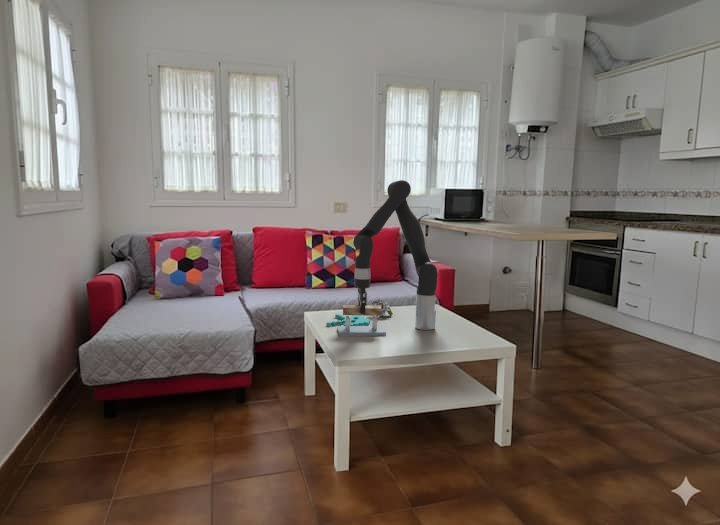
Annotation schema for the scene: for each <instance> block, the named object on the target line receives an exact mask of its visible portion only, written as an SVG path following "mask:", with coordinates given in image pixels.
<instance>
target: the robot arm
mask: <svg viewBox="0 0 720 525" xmlns="http://www.w3.org/2000/svg"><path fill="white" fill-rule="evenodd" d="M386 192H387V195H388V198H387V200H386V201H385V202H384V203H383V204H382V205H381V206H380V207H379V208H378V209H377V210H376V211H375V212H374V213H373V215H372V216H371V218H370V219H369V220H368V222H367V223H366V225H365V226H364V227H363V228H362V229H361V230H360V231H358V233H357V234H356V235H355V237H354V238H353V241H352V242H353V244H352V245H353V247H354V248H355V249H356V250H359V253H358V255H357V256H356V257H355V260H354V261H355V265H354V266H355V267H354V288H356V289H357V302H358V305H360V313H361V314H365V306H366V305H368V303H367V300H368V292H367V290H366V289H369V288H370V287H371V257H372V255H373V252H374V250H373V249H374V240H373V237H376V236H378V235H379V233H380V232H381V231H382V229H383V228H384V226H385V225H386V224H387V221H388V220H389V219H390V217H392V215H393V214H394V213H396V216H397V219H398V222H399V224H400V228H401V231H402V234H403V237H404V240H405V242H406V245H407V247H408V248H409V249H408V250H409V252H410V253H411V256H412V260H413V262H414V266H415V271H416V275H417V276H418V282H417V283H418V284H417V285H418V286H417V288H416V297H415V298H416V301H415V302H416V303H415V304H416V305H415V322H414V323H415V326H414V327H415V329H418V330H420V331H421V330H422V331H424V330H425V331H431V330H436V321H437V320H436V315H437V310H436V291H437V288H438V269H437V267H436V265H434V264H433V263H432V261H431V260H430V256H429V255H428V252H427V249H426V248H427V247H426V241H425V236H424V232H423V229H422V225H421V223H420V220H418V218H417V216H416V215H415V214H414V213H413V211H412V210H411V208H410V206H409V204H408V200H407V198H408V197H409V196H410V194H411V192H412V188H411V184H410V183H409V182H408V181H407V180H404V179H400V180H399V179H398V180H395V181H392V182H391V183H389V185H388V186H387V190H386Z"/></svg>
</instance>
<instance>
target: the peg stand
mask: <svg viewBox="0 0 720 525" xmlns="http://www.w3.org/2000/svg"><path fill="white" fill-rule="evenodd" d="M345 317H346V326H344V325H337V326H336V330H337V333H338V336H339V337H366V336H367V337H373V336H376V337H380V336H384V337H385V336H387V331H386V330H385V328H384V327H383V326H382V325H378V318H377V316H372V320H371V321H372V324H371V325H369V326H350V315H345Z"/></svg>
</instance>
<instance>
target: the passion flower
mask: <svg viewBox="0 0 720 525" xmlns="http://www.w3.org/2000/svg"><path fill="white" fill-rule="evenodd" d="M370 306H381V316H383V317H385V316H386V313H387V314H388V315H389V318H390V317H392V315H394V314H393V311H392V310H391V307H390V305H389V301H388V300H386V301H383V300H382V298H378V299H377V300H375V301H374V300H373V301H371V304H370ZM381 316H376V318H377V317H378V318H377V319H380V317H381Z"/></svg>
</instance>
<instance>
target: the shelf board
mask: <svg viewBox="0 0 720 525" xmlns="http://www.w3.org/2000/svg"><path fill="white" fill-rule="evenodd" d="M342 315H343V316H352V315H360V316H363V317H365V316H369V317H370V316H371V317H373V316H376V317H377V316H380V317H381V316H382V314H381V306H371V305H368V304H367V305H366V306H365V314H361V313H360V305H359V304H356V305H355V304H350V305H349V304H343V305H342Z"/></svg>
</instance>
